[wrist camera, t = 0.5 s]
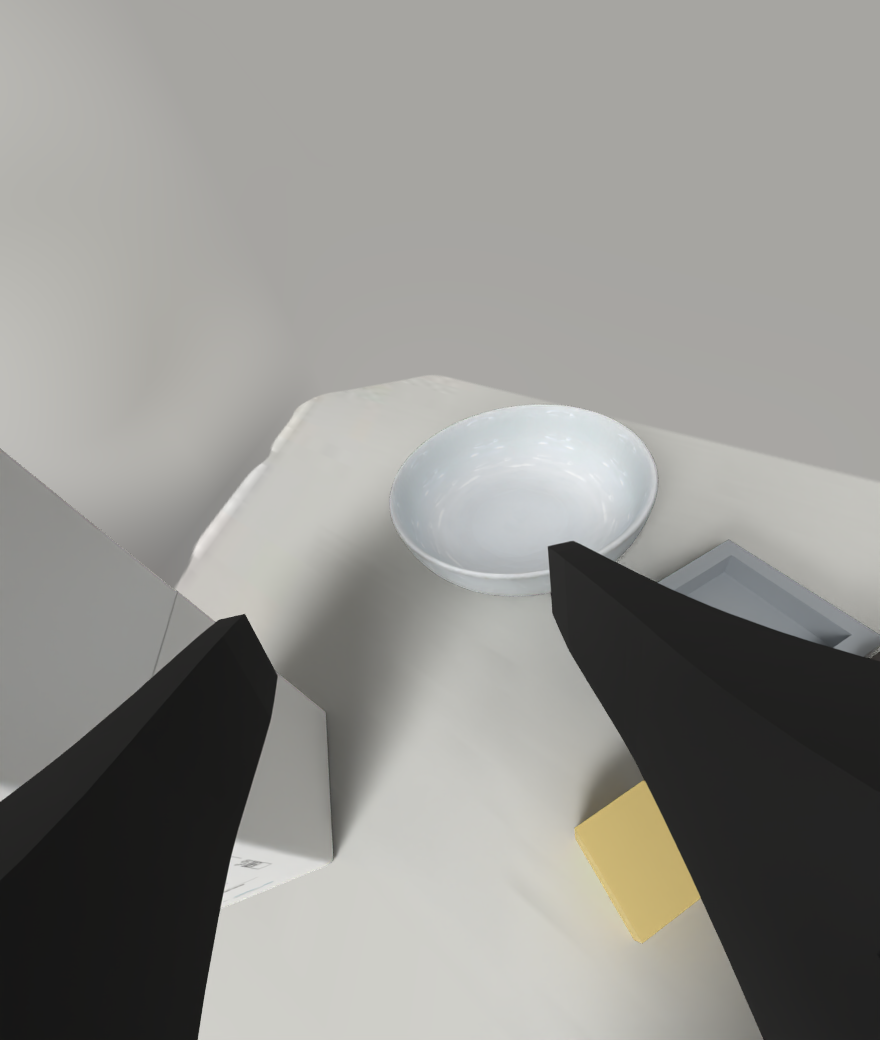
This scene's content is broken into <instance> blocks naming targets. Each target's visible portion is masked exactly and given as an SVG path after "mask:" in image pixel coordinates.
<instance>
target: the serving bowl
mask: <svg viewBox="0 0 880 1040" xmlns="http://www.w3.org/2000/svg"><path fill="white" fill-rule="evenodd" d="M657 490H658V473H657V468H656V464H655V461H654V459H653V457H652V455H651V453H650V451H649V449H648V448H647V446H646V445H645V444H644V442H643V441H642V440H641V439H640V438H639V437H638V436H637V435H636V434H635V433H634V432H633V431H631V430H630V429H629V428H627V427H626V426H624V425H623V424H621V423H619V422H618V421H616V420H614V419H612V418H610V417H607V416H605V415H602V414H600V413H597V412H594V411H590V410H586V409H583V408H578V407H572V406H566V405H554V404H530V405H519V406H511V407H505V408H500V409H495V410H491V411H487V412H484V413H480V414H477V415H474V416H471V417H468V418H466V419H463V420H461V421H459V422H457V423H454V424H452V425H450V426H449V427H447V428H445V429H443V430H441V431H440V432H438V433H436V434H435V435H433V436H432V437H430V438H429V439H428V440H426V441H425V442H424V443H423V444H421V445H420V446H419V447H418V448H417V449H416V450H415V451H414V452H413V453H412V454H411V455H410V456H409V457H408V458H407V459H406V461H405V462H404V463H403V465H402V466H401V468H400V469H399V471H398V473H397V475H396V477H395V479H394V482H393V484H392V487H391V491H390V500H389V506H390V514H391V519H392V522H393V525H394V527H395V529H396V531H397V533H398V534H399V536H400V537H401V539H402V540H403V542H404V543H405V544H406V546H407V547H408V548H409V550H410V551H411V552H412V553H413V554H414V556H415V557H416V558H417V559H418V560H419V561H420V562H421V563H422V564H424V565H425V566H426V567H427V568H428V569H429V570H431V571H432V572H434V573H435V574H437V575H438V576H440V577H441V578H443V579H445V580H447V581H449V582H451V583H453V584H455V585H457V586H460V587H463V588H465V589H468V590H472V591H475V592H479V593H484V594H490V595H498V596H531V595H539V594H545V593H550V592H551V585H550V572H549V558H548V546H551V545H556V544H560V543H565V542H569V541H575V542H577V543H579V544H581V545H583V546H585V547H587V548H589V549H591V550H593V551H595V552H597V553H599V554H601V555H603V556H605V557H607V558H609V559H611V560H613V561H616V560H617V559H618V558H619V557H620V556H621V555H622V554H623V553H624V552H625V551H626V550H627V549H628V548H629V547H630V545H631V544H632V543H633V542H634V540H635V539H636V538H637V536H638V535H639V533H640V531H641V530H642V528H643V526H644V525H645V523H646V521H647V519H648V516H649V514H650V512H651V510H652V508H653V505H654V502H655V499H656V495H657Z"/></svg>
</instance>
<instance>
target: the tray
mask: <svg viewBox="0 0 880 1040" xmlns="http://www.w3.org/2000/svg"><path fill="white" fill-rule="evenodd" d="M658 583H659V584H661V585H663V586H666V587H668V588H670V589H672V590H674V591H677V592H679V593H681V594H684V595H686V596H688V597H691V598H693V599H695V600H698V601H700V602H702V603H705V604H707V605H709V606H712V607H714V608H717V609H719V610H722V611H725V612H727V613H730V614H732V615H735V616H738V617H741V618H744V619H746V620H749V621H752V622H755V623H757V624H760V625H763V626H766V627H769V628H771V629H774V630H777V631H780V632H783V633H786V634H789V635H793V636H796V637H799V638H802V639H805V640H808V641H812V642H815V643H818V644H822V645H825V646H828V647H832V648H835V649H839V650H842V651H845V652H849V653H852V654H855V655H859V656H862V657H866V658H868V657H869V656H870V655H871V654H872V653H873V652H874V651H875V650H877V649H878V648H879V647H880V635H879V634H878V633H876V632H874V631H873V630H871V629H870V628H868V627H867V626H865V625H863V624H862V623H860V622H859V621H857V620H855V619H854V618H852V617H851V616H849V615H848V614H846V613H844V612H843V611H841V610H840V609H838V608H837V607H835V606H833V605H832V604H830V603H829V602H827V601H825V600H824V599H822V598H821V597H819V596H818V595H816V594H814V593H813V592H811V591H810V590H808V589H806V588H805V587H803V586H802V585H800V584H799V583H797V582H795V581H794V580H792V579H791V578H789V577H788V576H786V575H784V574H783V573H781V572H780V571H778V570H776V569H775V568H773V567H772V566H770V565H769V564H767V563H765V562H764V561H762V560H761V559H759V558H757V557H756V556H754V555H753V554H751V553H750V552H748V551H746V550H745V549H743V548H742V547H740V546H739V545H737V544H735V543H734V542H732V541H731V540H727V541H725V542H724V543H722V544H720V545H719V546H717V547H715V548H714V549H712V550H710V551H709V552H707V553H705V554H704V555H702V556H701V557H699V558H697V559H696V560H694V561H692V562H691V563H689V564H687V565H686V566H684V567H682V568H681V569H679V570H677V571H676V572H674V573H672V574H671V575H669V576H668V577H666V578H664V579H663V580H661V581H659V582H658Z"/></svg>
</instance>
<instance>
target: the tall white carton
mask: <svg viewBox="0 0 880 1040" xmlns="http://www.w3.org/2000/svg"><path fill="white" fill-rule="evenodd" d="M214 623H215V621H214V620H212V619H211V618H210V617H209V616H207V615H206V614H205V613H204V612H203V611H201V610H200V609H199V608H198V607H196V606H195V605H194V604H193V603H191V602H190V601H189V600H188V599H187V598H185V597H184V596H183V595H182V594H180V593H179V592H178V591H175V590H174V589H173V588H171V587H170V586H169V585H168V584H167V583H165V582H164V581H163V580H161V579H160V578H159V577H158V576H157V575H155V574H154V573H153V572H152V571H151V570H149V569H148V568H147V567H146V566H144V565H143V564H142V563H141V562H139V561H138V560H137V559H136V558H134V557H133V556H132V555H131V554H130V553H128V552H127V551H126V550H125V549H123V548H122V547H121V546H120V545H119V544H117V543H116V542H115V541H114V540H112V539H111V538H110V537H109V536H107V535H106V534H105V533H104V532H102V531H101V530H100V529H99V528H97V527H96V526H95V525H94V524H93V523H91V522H90V521H89V520H88V519H87V518H85V517H84V516H83V515H81V514H80V513H79V512H78V511H77V510H75V509H74V508H73V507H72V506H71V505H69V504H68V503H67V502H66V501H64V500H63V499H62V498H61V497H59V496H58V495H57V494H56V493H54V492H53V491H52V490H51V489H49V488H48V487H47V486H46V485H45V484H43V483H42V482H41V481H40V480H38V479H37V478H36V477H35V476H33V475H32V474H31V473H30V472H28V471H27V470H26V469H25V468H23V467H22V466H21V465H20V464H19V463H18V462H16V461H15V460H14V459H13V458H11V457H10V456H9V455H8V454H6V453H5V452H4V451H3V450H2V449H0V801H2V800H3V799H4V798H6V797H7V796H8V795H10V794H11V793H12V792H14V791H15V790H16V789H18V788H19V787H20V786H22V785H23V784H24V783H25V782H27V781H28V780H29V779H31V778H32V777H33V776H35V775H36V774H37V773H39V772H40V771H41V770H43V769H44V768H45V767H46V766H48V765H49V764H50V763H51V762H53V761H54V760H55V759H56V758H58V757H59V756H60V755H61V754H63V753H64V752H65V751H66V750H68V749H69V748H70V747H71V746H73V745H74V744H75V743H76V742H77V741H79V740H80V739H81V738H82V737H83V736H85V735H86V734H87V733H88V732H89V731H90V730H92V729H93V728H94V727H95V726H96V725H98V724H99V723H100V722H101V721H102V720H103V719H105V718H106V717H107V716H108V715H109V714H110V713H112V712H113V711H114V710H115V709H116V708H118V707H119V706H120V705H121V704H122V703H123V702H125V701H126V700H127V699H128V698H129V697H130V696H132V695H133V694H134V693H135V692H136V691H137V690H138V689H140V688H141V687H142V686H143V685H144V684H145V683H146V682H147V681H148V680H150V679H151V678H152V677H153V676H154V675H155V674H156V673H157V672H159V671H160V670H161V669H162V668H163V667H164V666H165V665H166V664H168V663H169V662H170V661H171V660H172V659H173V658H174V657H175V656H176V655H178V654H179V653H180V652H181V651H182V650H183V649H184V648H185V647H187V646H188V645H189V644H190V643H191V642H192V641H193V640H195V639H196V638H197V637H198V636H199V635H200V634H202V633H203V632H204V631H205V630H206V629H208V628H209V627H210V626H211V625H213V624H214ZM275 672H276V671H275ZM276 674H277V675H278V678H277V686H276V693H275V700H274V705H273V711H272V717H271V721H270V725H269V728H268V732H267V735H266V739H265V742H264V746H263V749H262V752H261V756H260V759H259V763H258V766H257V769H256V772H255V776H254V779H253V782H252V786H251V789H250V792H249V796H248V799H247V802H246V806H245V809H244V812H243V816H242V819H241V822H240V825H239V829H238V832H237V836H236V840H235V844H234V848H233V852H232V855H231V860H230V864H229V869H228V874H227V879H226V884H225V888H224V893H223V898H222V903H221V908H220V909H222V908H224V907H227V906H229V905H232V904H234V903H237V902H239V901H242V900H244V899H247V898H249V897H251V896H254V895H256V894H259V893H261V892H264V891H266V890H269V889H271V888H274V887H276V886H278V885H281V884H283V883H286V882H288V881H291V880H293V879H296V878H298V877H301V876H303V875H305V874H308V873H310V872H313V871H315V870H318V869H320V868H323V867H325V866H328V865H329V864H331V863H332V861H333V843H332V824H331V804H330V785H329V765H328V746H327V727H326V713H325V711H324V710H323V709H322V708H320V707H319V706H318V705H317V704H315V703H314V702H313V701H312V700H310V699H309V698H308V697H307V696H306V695H304V694H303V693H302V692H301V691H299V690H298V689H297V688H296V687H295V686H293V685H292V684H291V683H290V682H288V681H287V680H286V679H285V678H283V677H282V676H281V675H280V674H279V673H277V672H276Z"/></svg>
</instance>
